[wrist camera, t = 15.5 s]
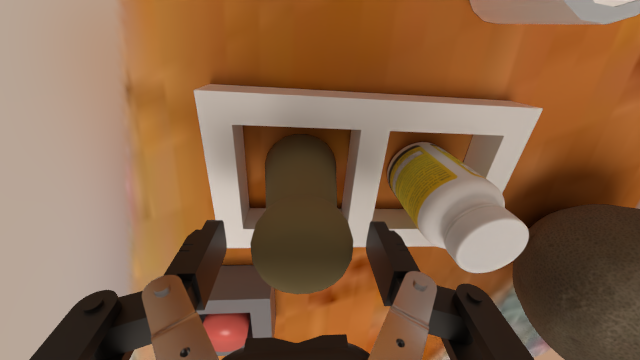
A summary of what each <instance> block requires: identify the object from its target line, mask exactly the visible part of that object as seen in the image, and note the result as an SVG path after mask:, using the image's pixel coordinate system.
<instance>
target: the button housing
mask: <svg viewBox="0 0 640 360" xmlns="http://www.w3.org/2000/svg"><path fill="white" fill-rule="evenodd" d="M197 313H198V315H199V317H200V319H201V321H202V323H203V322H204V319H205V316H206V314H224V313H250V315H251V317H250V322H249V328H248V334H247V338H267V337H272V338H274V332H275V320H276V311H275V288H273V287H271V286H270V285H269V284H267V283H266V282H265V281H264V280H263V279H262V278H261V276H260V275H259V273H258V271H257V270H256V268H255V266H254V265H232V266H221V267H220V270H219V273H218V275H217V278H216V281H215V283H214V286H213V289H212V291H211V294H210V297H209V299H208V302H207V305H206V307H205V310H199V311H197ZM244 346H245V344H244V345H243V346H242V347H241V348H243V347H244ZM239 349H240V348H239ZM237 350H238V349H237ZM234 351H236V350H234ZM234 351H230V352H216V351H215V352H216V354H217V356H225V355H229V354H230V353H232V352H234Z"/></svg>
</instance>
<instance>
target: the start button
mask: <svg viewBox="0 0 640 360" xmlns="http://www.w3.org/2000/svg"><path fill="white" fill-rule="evenodd" d="M250 317H251V315H250V313H224V314H206V316H205V319H204V322H203V325H204V328H205V330H206V332H207V334H208V336H209V339H210V341H211V343H212V345H213V347H214V350H215V351H216V352H230V351H234V350H237V349H239V348H241V347H242V346H243V345H244V344H245V341H246V338H247V334H248V328H249V322H250Z"/></svg>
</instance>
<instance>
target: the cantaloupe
mask: <svg viewBox="0 0 640 360" xmlns="http://www.w3.org/2000/svg"><path fill="white" fill-rule="evenodd" d="M528 231H529V239H528V242H527V245H526V247H525V248H524V250H523V251H522V252H521V254H520V255H519V256H518V257H517V258H516V259H514V263H513V284H514V288H515V292H516V294H517V297H518V299H519V301H520V303H521V305H522V308H523V310H524V312H525V314H526V316H527V317H528V319H529V321H530V322H531V324H532V326H533V327H534V328H535V330H536V331H537V332H538V334H539V335H540V336H541V337H542V338H543V339H544V341H545V342H546V343H547V344H548V345H549V346H550V347H551V348H552V349H553V350H554V351H555V352H557V353H558V354H559V355H560V356H561V357H562V358H564V359H565V360H640V209H636V208H628V207H621V206H614V205H606V204H588V205H581V206H575V207H571V208H566V209H562V210H559V211H556V212H553V213H551V214H548V215H546V216H545V217H543V218H542V219H540V220H539V221H537V222H536V223H535V224H533V225H532V226H531V227H530V228H529V230H528Z"/></svg>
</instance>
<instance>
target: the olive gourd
mask: <svg viewBox="0 0 640 360" xmlns="http://www.w3.org/2000/svg"><path fill="white" fill-rule="evenodd" d="M265 181H266V211H265V212H264V213H263V215H262V216H261V217H260V218H259V220H258V221H257V223H256V225H255V229H254V232H253V235H252V239H251V243H250V245H251V254H252V261H253V265H254V266H255V268H256V270H257V271H258V273H259V275H260V276H261V278H262V279H263V280H264V281H265V282H266V283H267V284H269V285H270V286H271V287H273V288H275V289H278V290H280V291H282V292H287V293H293V294H309V293H313V292H317V291H321V290H324V289H326V288H328V287H329V286H331V285H333V284H335V283H336V282H337V281H338V280H339V279H340V278H341V277H342V276H343V274H344V273H345V271H346V269H347V267H348V265H349V264H350V262H351V260H352V252H353V237H352V234H351V230H350V227H349V224H348V221H347V220H346V218H345V217H344V216H343V215H342V213H341V212H340V211H339V210H338V208H337V186H336V161H335V158H334V154H333V152H332V151H331V149H330V148H329V147H328V145H327V144H326V143H324V142H323V141H322V140H320V139H319V138H317V137H314V136H311V135H308V134H294V135H291V136H287V137H284V138H282V139H281V140H280V141H278V142H277V143H275V144H274V145H273V147H272V148H271V149H270V151H269V152H268V155H267V158H266V162H265Z"/></svg>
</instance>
